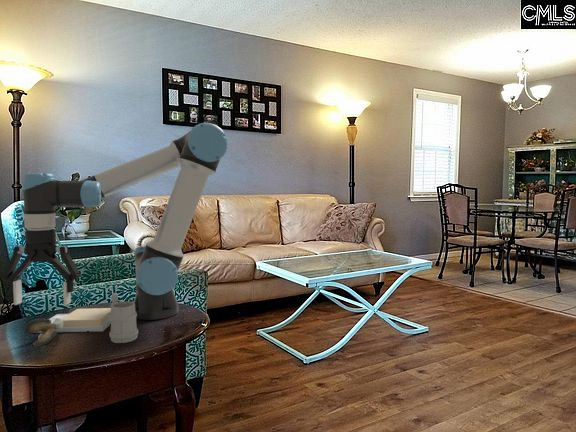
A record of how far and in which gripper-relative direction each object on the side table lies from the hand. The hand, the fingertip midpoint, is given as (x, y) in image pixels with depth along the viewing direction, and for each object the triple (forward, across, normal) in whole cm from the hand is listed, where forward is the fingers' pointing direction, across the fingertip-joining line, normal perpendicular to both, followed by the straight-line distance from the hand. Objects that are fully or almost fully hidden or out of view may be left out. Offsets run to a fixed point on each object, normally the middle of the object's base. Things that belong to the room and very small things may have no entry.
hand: (42, 303), depth 123 cm
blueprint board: (+10, -5, -12) cm, 16 cm away
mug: (+10, -22, 0) cm, 24 cm away
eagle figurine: (+10, -1, +1) cm, 10 cm away
